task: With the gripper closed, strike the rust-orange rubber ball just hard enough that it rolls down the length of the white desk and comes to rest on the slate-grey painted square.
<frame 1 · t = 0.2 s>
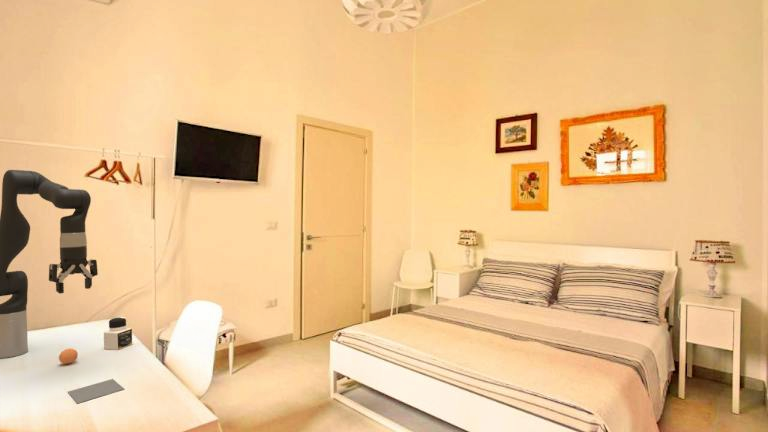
hand: (74, 290, 141), 28 cm above the table, tool pointing down, fingers open, 8 cm apart
medicine bottle: (118, 347, 166), on the table
ball: (68, 356, 148), on the table
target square: (96, 390, 124), on the table
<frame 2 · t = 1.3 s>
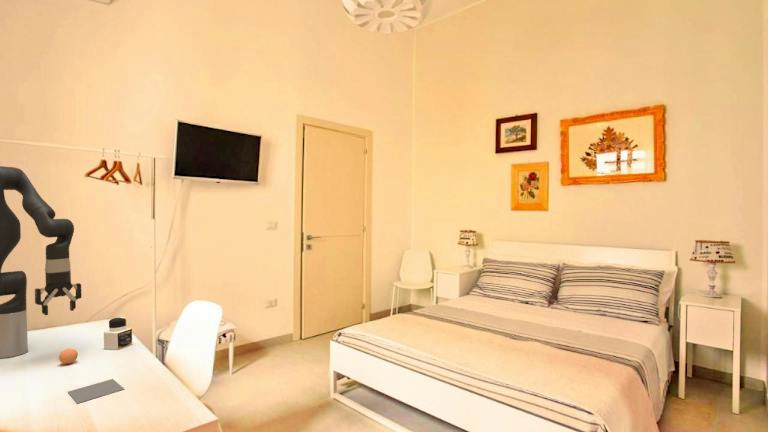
hand: (59, 312, 153), 18 cm above the table, tool pointing down, fingers open, 7 cm apart
nothing on the table moved.
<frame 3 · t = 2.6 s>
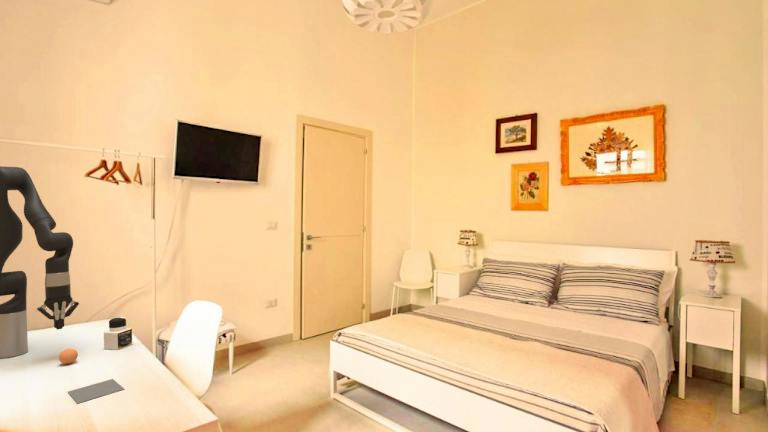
hand: (59, 328, 153), 12 cm above the table, tool pointing down, fingers closed
nothing on the table moved.
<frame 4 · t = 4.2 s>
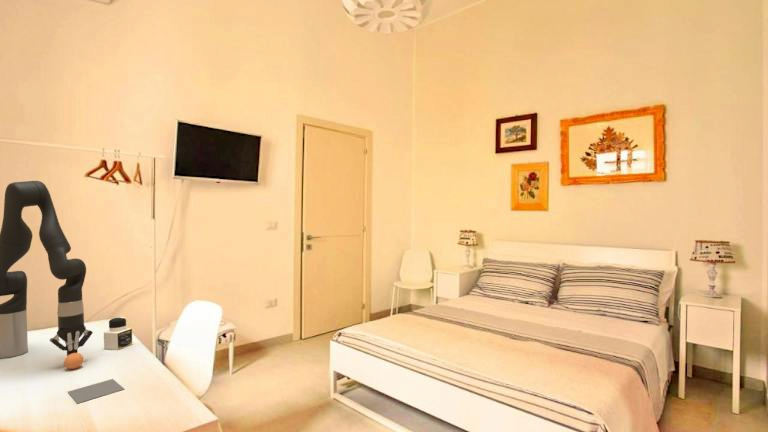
hand: (72, 359, 146), 2 cm above the table, tool pointing down, fingers closed
ball: (73, 360, 143), on the table
everything else where it was.
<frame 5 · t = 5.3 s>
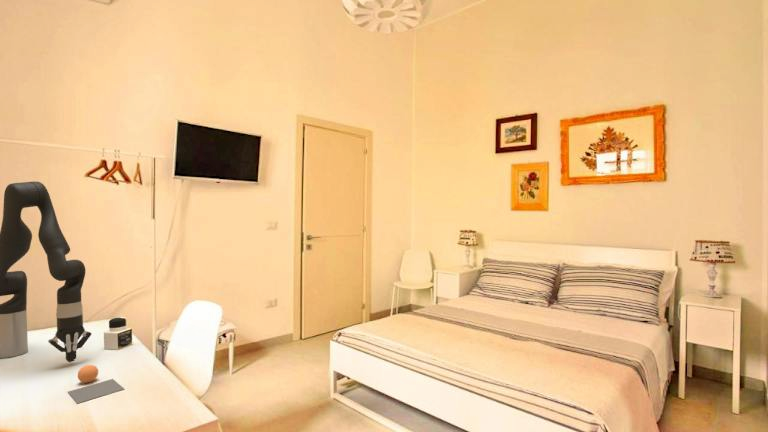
hand: (71, 361, 146), 1 cm above the table, tool pointing down, fingers closed
ball: (88, 373, 131), on the table
everything else where it was.
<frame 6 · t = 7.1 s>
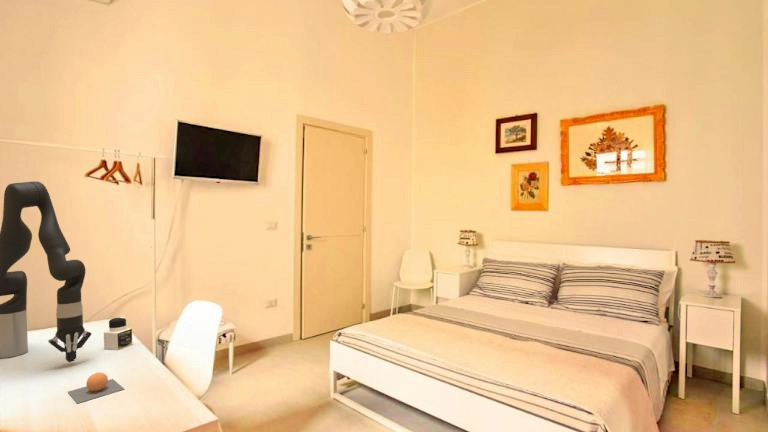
hand: (71, 361, 146), 1 cm above the table, tool pointing down, fingers closed
ball: (97, 381, 124), on the table
everything else where it was.
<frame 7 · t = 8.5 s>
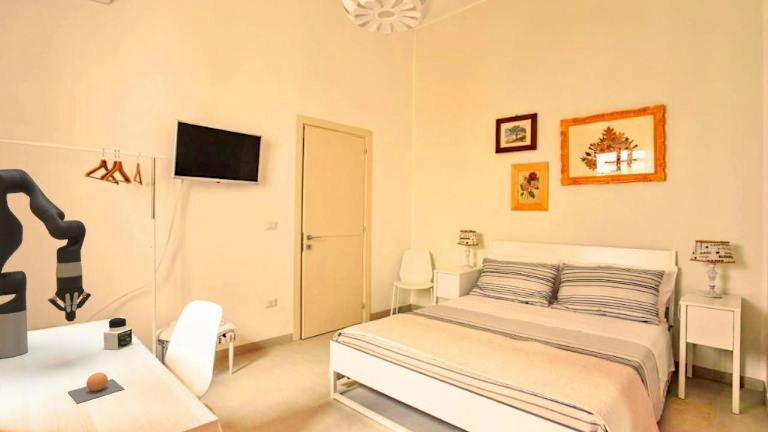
hand: (70, 321, 146), 16 cm above the table, tool pointing down, fingers closed
nothing on the table moved.
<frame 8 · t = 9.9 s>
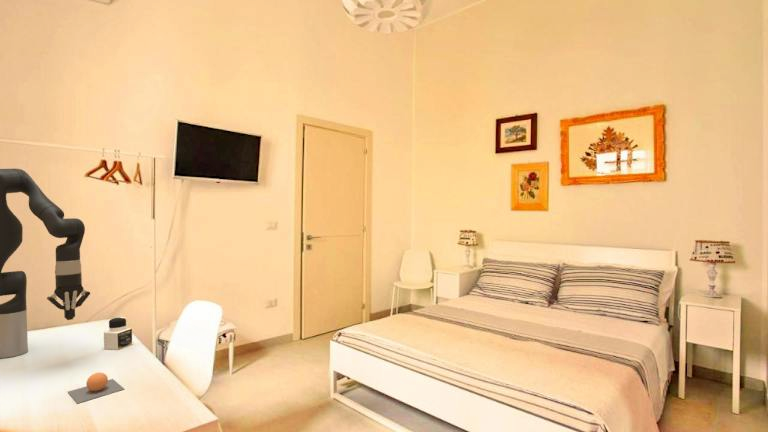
hand: (69, 319, 146), 17 cm above the table, tool pointing down, fingers closed
nothing on the table moved.
at the end: ball 0.3 cm from the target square (horizontally); ball at rest at the end (0.0 cm/s); ball moved 36.5 cm from its start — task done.
